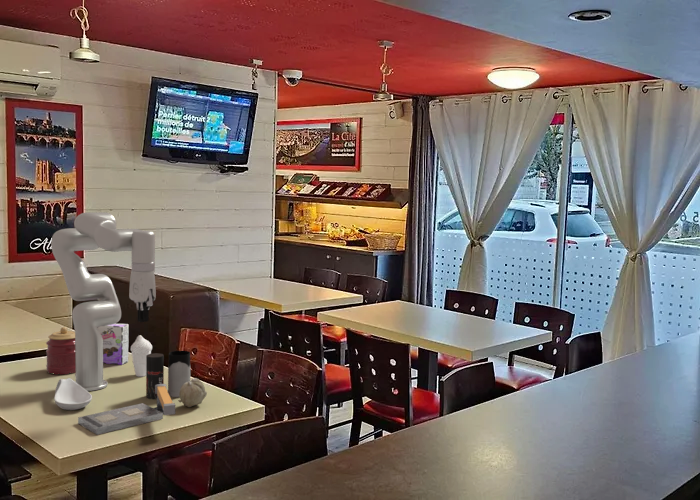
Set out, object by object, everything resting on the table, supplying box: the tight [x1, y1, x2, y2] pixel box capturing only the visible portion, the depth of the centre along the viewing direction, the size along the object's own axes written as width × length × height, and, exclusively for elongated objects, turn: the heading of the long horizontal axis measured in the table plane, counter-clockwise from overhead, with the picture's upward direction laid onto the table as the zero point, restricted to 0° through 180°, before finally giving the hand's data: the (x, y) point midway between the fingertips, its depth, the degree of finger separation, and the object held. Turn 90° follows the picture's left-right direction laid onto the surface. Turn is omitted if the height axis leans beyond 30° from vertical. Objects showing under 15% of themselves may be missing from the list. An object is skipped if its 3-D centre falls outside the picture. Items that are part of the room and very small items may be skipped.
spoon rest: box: [53, 377, 93, 411], centre depth 233 cm, size 24×12×7 cm, turn 35°
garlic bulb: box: [177, 377, 208, 408], centre depth 232 cm, size 10×8×10 cm
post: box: [153, 395, 165, 416], centre depth 226 cm, size 6×6×6 cm
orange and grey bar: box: [155, 383, 176, 416], centre depth 216 cm, size 4×24×3 cm, turn 22°
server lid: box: [77, 402, 164, 436], centre depth 216 cm, size 13×22×2 cm, turn 136°
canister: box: [45, 326, 76, 375], centre depth 271 cm, size 13×13×18 cm
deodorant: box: [145, 352, 165, 400], centre depth 242 cm, size 6×6×15 cm
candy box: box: [97, 323, 130, 366], centre depth 286 cm, size 14×6×16 cm, turn 80°
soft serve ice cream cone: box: [130, 334, 153, 378], centre depth 268 cm, size 8×8×16 cm
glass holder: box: [167, 350, 191, 398], centre depth 249 cm, size 9×14×15 cm, turn 12°
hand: (143, 321), depth 230 cm, fingers closed
